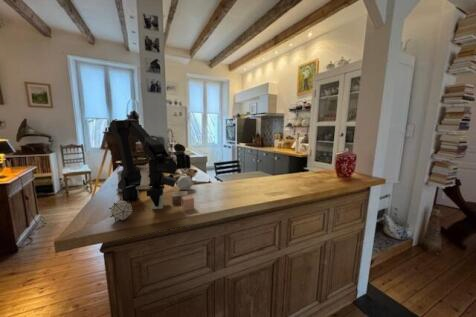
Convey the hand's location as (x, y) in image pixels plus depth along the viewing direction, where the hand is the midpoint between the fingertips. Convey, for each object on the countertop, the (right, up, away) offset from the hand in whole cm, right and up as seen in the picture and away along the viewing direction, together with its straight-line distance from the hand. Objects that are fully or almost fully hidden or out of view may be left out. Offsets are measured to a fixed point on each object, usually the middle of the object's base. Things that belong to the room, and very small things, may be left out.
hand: (157, 204), depth 92 cm
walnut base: (+8, 0, +8) cm, 11 cm away
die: (+6, +3, +26) cm, 26 cm away
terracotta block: (+14, -1, -1) cm, 14 cm away
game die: (-9, -3, -13) cm, 16 cm away
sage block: (0, -1, 0) cm, 1 cm away
